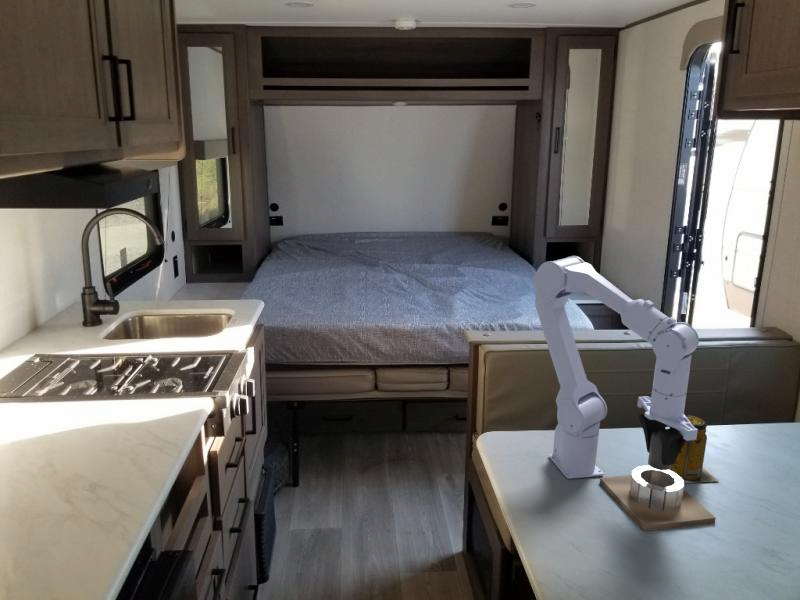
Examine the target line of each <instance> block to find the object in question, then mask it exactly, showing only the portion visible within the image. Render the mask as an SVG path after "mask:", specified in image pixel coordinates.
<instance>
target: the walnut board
mask: <svg viewBox="0 0 800 600" xmlns="http://www.w3.org/2000/svg"><path fill="white" fill-rule="evenodd" d="M631 476H632V474H628V475H619V476H617V475H615V476H607V477H606V476H605V477H600V479H599V483H600V485H602V487H603V488H604V489H605V490H606V492H608V493H609V494H610V495H611V496H612V498H614V500H615V501H616V502H617V503H618V504H619V505H620V506H621V507H622V508H623V510H624V511H625V512H626V513H628V515H629V516H630V517H631V518H632V519H633V520H634V521H635V522H636V524H637V525H638V526H639V527H640V528H641V529H642V530H643V532H647V531H655V530H663V529H673V528H681V527H690V526H697V525H698V526H699V525H707V524H708V525H709V524H714V523H716V520H717V519H716V516H715V515H713V514H712V513H711V512H710V511H709V510H708V509H707V508H705V507H704V506H703V505H702V504H700V503H699V501H698V500H696V499H695V498H694V497H693V496H692V495H691V494H689V493H688V492H687V491H686V490H685V489H683V496H682V502H681V506H679V507H678V508H677V509H676V510H675V509H674V510H669V511H663V510H662V511H659V510H654V509H650V507H649V508H647V507H645V506H643V505H640V504H638V502H636V501H635V500H634V499H633V498H632V497H631V496H630V485H631Z"/></svg>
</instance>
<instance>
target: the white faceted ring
mask: <svg viewBox="0 0 800 600" xmlns="http://www.w3.org/2000/svg"><path fill="white" fill-rule="evenodd" d="M631 475H632V476H631V485H630V496H631V497H632V498H633V499H634V500H635V501H636V502H638V504H640V505H643V506H645V507H647V508H649V507H650V509H654V510H659V511H662V510H663V511H669V510H674V509H675V510H676V509H677V508H678V507H679V506H681V502H682V496H683V489H684V488H685V483H684V482H683V480H682V478H681V477H680V476H679V475H677V474H676V473H674V472H672V471H670V470H658V469H655V468H653V467H651V466H650V465H641V466H637V467H636V468H634V469H633V470H631ZM684 490H685V489H684Z"/></svg>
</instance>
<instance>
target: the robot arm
mask: <svg viewBox="0 0 800 600" xmlns="http://www.w3.org/2000/svg"><path fill="white" fill-rule="evenodd" d="M532 279H533V282H534V285H535V287H536V288H535V296H534V298H535V300H534V305H535V308H536V309H535V310H536V312H537V315H538V318H539V319H538V320H539V322H540V326H541V328H542V332H543V335H544V337H545V342H546V345H547V348H548V350H549V354H550V357H551V360H552V363H553V368H554V370H555V373H556V376H557V380H558V383H559V387H560V388H559V390H558V393H557V396H556V397H555V398H556V399H555V403H556V408H557V412H556V419H557V425H556V426H555V429H554V436H553V437H554V439H553V450H552V453H549V455H548V457H549V459H550V460H551V461H552V462H553V464H555V466H556V467H557V468H558V469H559V471H560V472H561V474H563V475H564V477H566V479H568V480H569V479H570V480H572V479H580V478H591V477H600V476H601V477H603V476H604V471H602V470H601V469H600V468H599V467H598V466H597V465H596V462H597V455H598V444H599V435H600V426H601V421H603V420H604V419H605V418H606V417H607V414H608V406H607V403H606V401H605V400H604V398H603V397H602V396H601V395H600V393H599V391H598V390H599V389H598V388H597V385H595V384H594V383H593V382H591V381H590V380H588V378H587V375H586V372H585V369H584V365H583V363H582V359H581V356H580V352H579V349H578V346H577V344H576V340H575V337H574V333H573V330H572V327H571V324H570V321H569V318H568V314H567V311H566V308H565V307H566V305H567V302H568V301H569V299H570V297H571V295H572V294H573V293H586V294H588V295H589V296H591V297H592V298H594V299H596V300H597V301H599V302H601V303H602V304H603V305H605V306H607V307H608V308H609V309H611V310H612V311H614V312H616V313H618V314H620V318H621V323H622V324H623V325H624V326H625V327H627V328H628V329H629V330H630V331H632V332H634V333H635V334H636V335H637V336H638V337H640V338H642V340H644V341H646V342H647V343H649V344H650V345H651V347H652V351H653V353H654V354H655V359H656V360H655V365H654V373H653V382H652V390H651V396H647V395H646V396H645V395H644V396H638V397H637V398H638V399H637V405H636V406H637V407H638V408H639V409H644V410H645V412H644V413H641V414H638V420H639V422H640V424H641V428H642V431H643V433H644V434H643V435H644V440H645V446H646V447H645V448H646V450H647V451H646V452H647V453H648V454H649V451H650V443H651V435H652V432H653V431H657V430H659V434H660V437H661V441H662V464H663V465H672V464H674V463H675V461H676V458H677V456H678V454H679V452H680V450H681V449H682V447H683V446H684V445H685V443H686V442H687V441H689V440H696V438H697V432H698V430H697V429H696V428H695V427H694V426H693V425H692V424H691V423H690V421H689V420H688V419H687V417H686V416H687V415H685V407H686V399H687V392H688V385H689V379H690V371H691V362H692V357H693V356H692V353H693V352H694V351H695V350H696V349H697V348H698V345H699V343H700V338H699V334H698V332H697V331H696V329H695V328H694V327H692V326H691V324H690V323H687V322H685V321H683V322H682V321H679V322H677V319H675V318H674V317H672V316H671V317H669V316H668V315H666V314H664V313H663V312H662V311H661V310H660V309H657V308H656V307H655V306H654V305H655V303H654V302H652V301H651V300H649V299H648V300H644V299H643V298H639V299H632V298H630V297H629V296H628V295H626V294H625V293H624V292H623V291H621V290H620V289H619V288H618V287H617V286H615V285H614V284H613V283H611V282H610V281H609V280H607V278H605V277H604V276H603V275H601V274H600V273H598V272H597V271H596V269H595V268H594V266H593V265H592V264H591V263H589V262H585V261H584V260H583V259H582V258H581V257H580V256H577V255H571V256H567V257H565V258H561V259H560V258H559V259H557V260H553V261H552V260H550V261H545V262H543V263H542V264H541V265H539V266H538V269H537V270H536V272H535V274H534V275H533V277H532ZM667 426H669V428H667Z"/></svg>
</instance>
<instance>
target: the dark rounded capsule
mask: <svg viewBox="0 0 800 600" xmlns="http://www.w3.org/2000/svg"><path fill="white" fill-rule="evenodd" d="M647 464H648V466H650V467H653V468H655V469H658V470H669V469H670V468H671V465H663V464H662V441H661V437H660V434H659V430H657V431H653V432H652V435H651V443H650V451H649V453H648V460H647Z"/></svg>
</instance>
